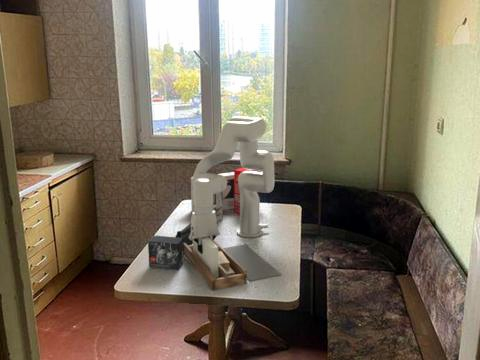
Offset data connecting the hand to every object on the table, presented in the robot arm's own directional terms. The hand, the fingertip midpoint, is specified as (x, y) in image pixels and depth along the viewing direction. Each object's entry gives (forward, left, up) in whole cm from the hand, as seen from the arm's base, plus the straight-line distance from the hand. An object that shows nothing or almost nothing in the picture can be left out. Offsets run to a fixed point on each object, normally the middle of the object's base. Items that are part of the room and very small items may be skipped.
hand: (204, 251), depth 194 cm
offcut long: (-6, 0, -9) cm, 10 cm away
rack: (-3, 0, -8) cm, 9 cm away
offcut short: (-6, +1, -6) cm, 8 cm away
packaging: (-34, -72, -8) cm, 80 cm away
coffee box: (-25, -57, -8) cm, 63 cm away
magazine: (-3, -29, -8) cm, 31 cm away
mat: (-19, 0, -8) cm, 21 cm away
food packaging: (-47, -62, -8) cm, 78 cm away
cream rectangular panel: (0, 0, -7) cm, 7 cm away
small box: (+14, -10, -8) cm, 19 cm away
